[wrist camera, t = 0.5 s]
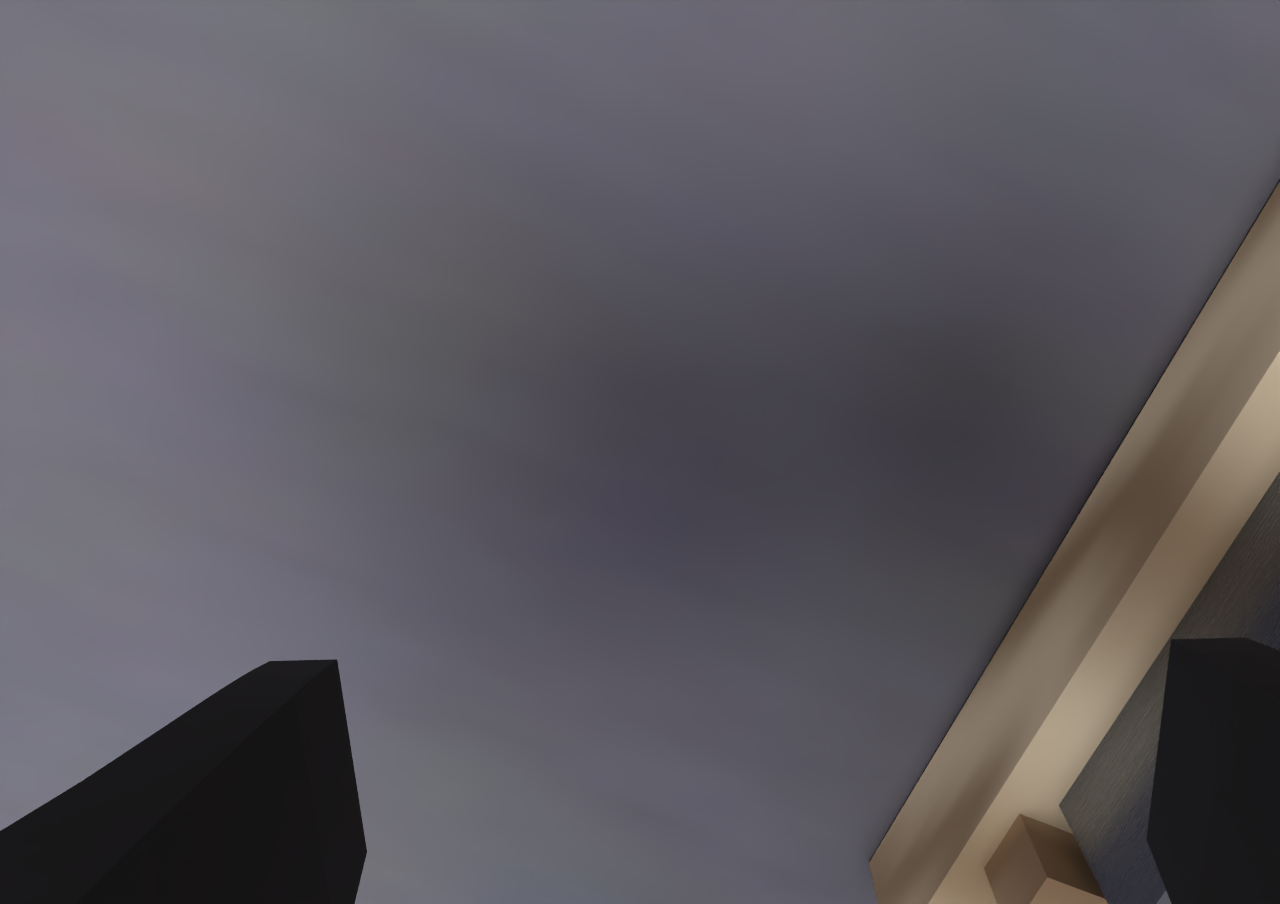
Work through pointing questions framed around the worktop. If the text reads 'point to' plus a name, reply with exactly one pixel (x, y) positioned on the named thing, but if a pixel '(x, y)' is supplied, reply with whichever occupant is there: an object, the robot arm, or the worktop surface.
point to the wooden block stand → (1101, 613)
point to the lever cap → (1126, 757)
